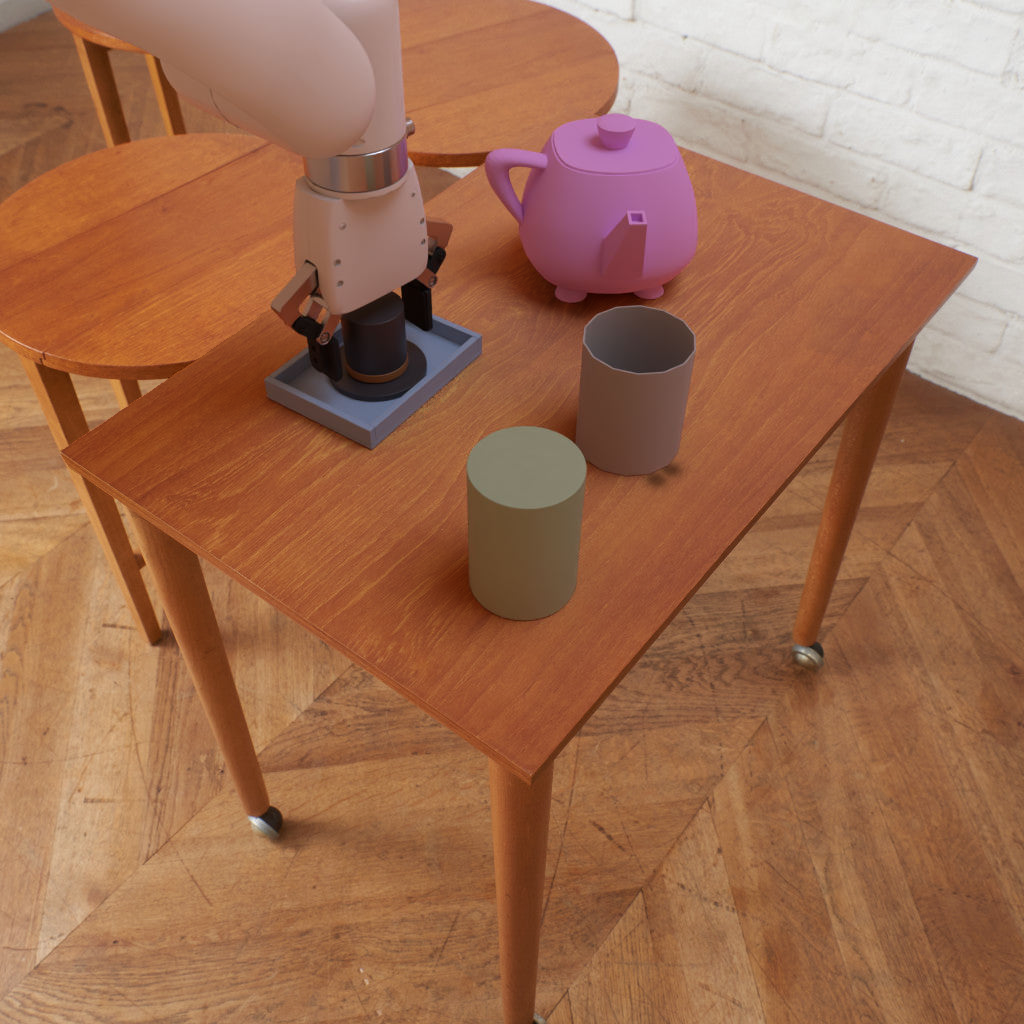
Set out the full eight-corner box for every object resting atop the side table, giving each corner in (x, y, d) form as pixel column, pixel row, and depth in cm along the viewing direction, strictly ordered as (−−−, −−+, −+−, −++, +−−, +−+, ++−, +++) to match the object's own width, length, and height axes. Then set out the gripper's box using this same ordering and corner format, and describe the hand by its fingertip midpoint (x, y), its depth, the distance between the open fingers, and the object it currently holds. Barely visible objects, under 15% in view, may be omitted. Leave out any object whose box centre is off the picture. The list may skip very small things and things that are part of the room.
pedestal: (483, 630, 71) (482, 518, 63) (458, 549, 76) (454, 436, 68) (590, 608, 72) (602, 496, 64) (558, 530, 77) (566, 417, 69)
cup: (649, 490, 80) (664, 388, 73) (556, 451, 83) (562, 349, 76) (695, 428, 85) (714, 327, 78) (606, 393, 88) (616, 293, 81)
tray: (371, 450, 83) (369, 431, 82) (267, 397, 87) (263, 379, 86) (482, 353, 92) (482, 334, 90) (382, 310, 96) (380, 291, 95)
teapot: (495, 351, 92) (496, 195, 81) (479, 229, 106) (477, 83, 95) (715, 340, 94) (744, 186, 83) (670, 222, 107) (690, 76, 97)
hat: (335, 409, 86) (326, 343, 81) (321, 348, 91) (312, 283, 87) (436, 393, 87) (433, 328, 83) (416, 334, 93) (412, 270, 88)
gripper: (411, 101, 81) (422, 288, 94) (223, 177, 73) (262, 372, 85) (478, 134, 78) (480, 324, 90) (288, 219, 69) (319, 416, 81)
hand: (374, 347), depth 87 cm, fingers open, 9 cm apart
